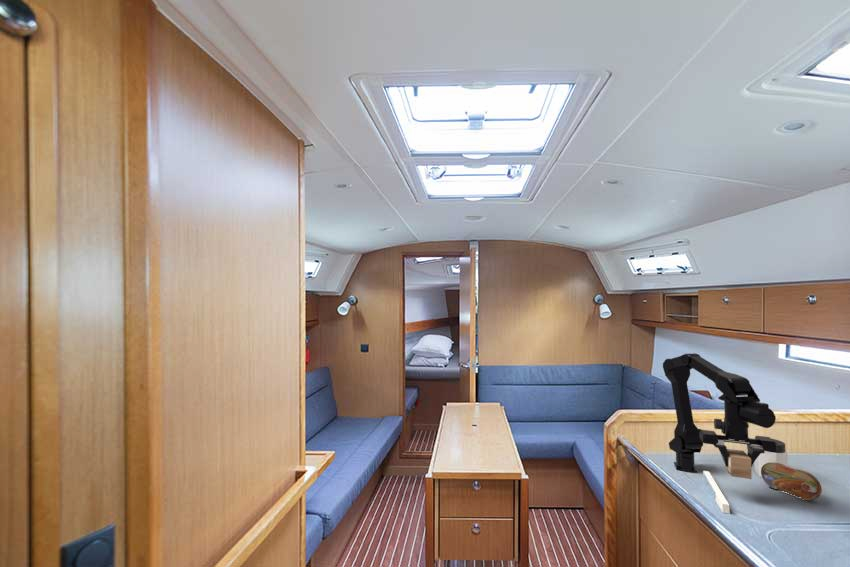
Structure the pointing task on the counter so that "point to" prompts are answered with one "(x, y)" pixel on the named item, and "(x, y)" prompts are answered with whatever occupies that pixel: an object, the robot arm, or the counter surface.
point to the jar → (771, 457)
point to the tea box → (739, 464)
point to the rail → (716, 492)
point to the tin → (791, 481)
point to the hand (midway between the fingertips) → (737, 468)
